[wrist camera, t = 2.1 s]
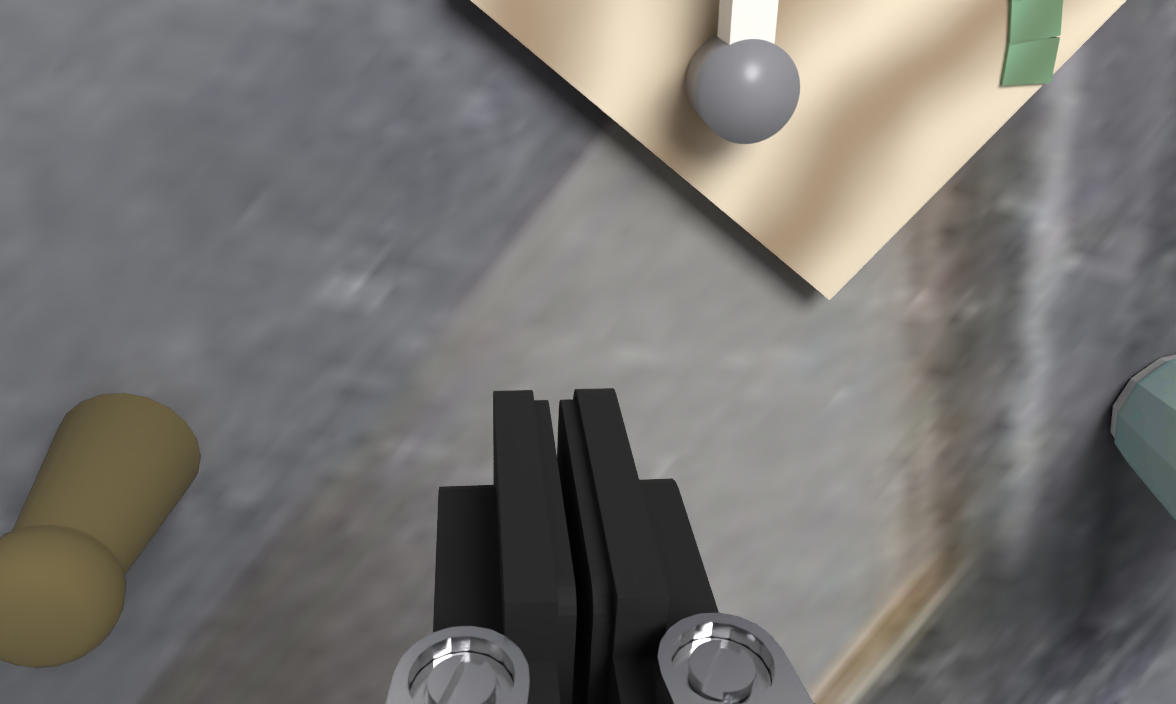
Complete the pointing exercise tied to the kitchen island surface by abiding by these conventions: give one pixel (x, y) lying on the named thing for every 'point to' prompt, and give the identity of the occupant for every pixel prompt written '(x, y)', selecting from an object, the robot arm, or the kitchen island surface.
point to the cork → (89, 525)
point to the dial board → (817, 103)
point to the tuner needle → (744, 74)
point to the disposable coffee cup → (1150, 428)
